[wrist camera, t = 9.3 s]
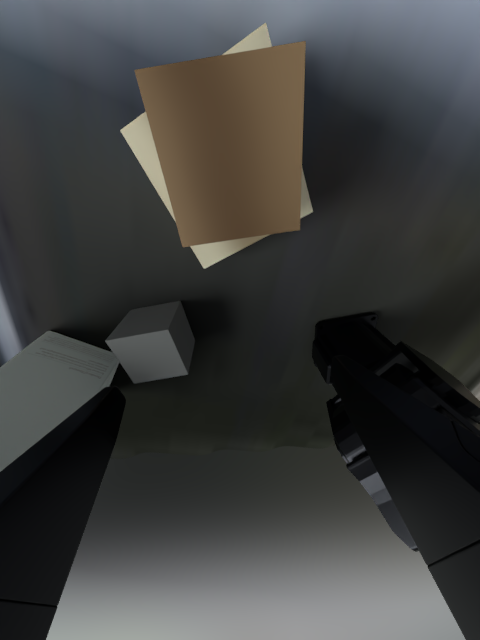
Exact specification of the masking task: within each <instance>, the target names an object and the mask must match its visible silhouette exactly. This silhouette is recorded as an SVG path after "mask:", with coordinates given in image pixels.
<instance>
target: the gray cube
mask: <svg viewBox="0 0 480 640" xmlns="http://www.w3.org/2000/svg"><path fill="white" fill-rule="evenodd" d="M105 342H106V343H107V345H108V346H109V348H110V349H111V351H112V352H113V353H114V355H115V356H116V358H117V359H118V361H119V362H120V364H121V365H122V367H123V368H124V369H125V371H126V372H127V374H128V375H129V377H130V378H131V380H132V381H133V383H134V384H135V383H141V382H147V381H153V380H159V379H165V378H170V377H176V376H182V375H188V373H189V368H190V363H191V358H192V353H193V349H194V344H195V339H194V336H193V333H192V331H191V328H190V325H189V323H188V320H187V317H186V315H185V312H184V309H183V307H182V304H181V301H175V302H170V303H165V304H159V305H154V306H148V307H143V308H138V309H132V310H130V311H129V312H128V314H127V315H126V316H125V317H124V318H123V320H122V321H121V322H120V323H119V324H118V326H117V327H116V328H115V329H114V330H113V332H112V333H111V334H110V335H109V337H108V338H107V339H106V340H105Z"/></svg>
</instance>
